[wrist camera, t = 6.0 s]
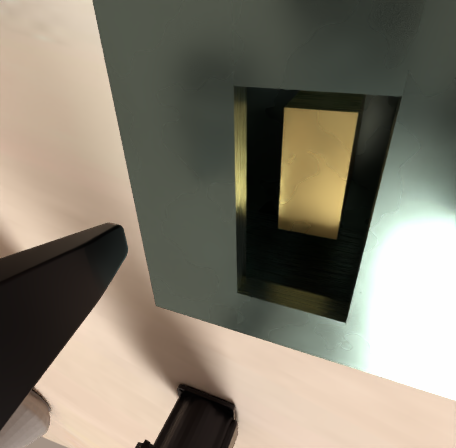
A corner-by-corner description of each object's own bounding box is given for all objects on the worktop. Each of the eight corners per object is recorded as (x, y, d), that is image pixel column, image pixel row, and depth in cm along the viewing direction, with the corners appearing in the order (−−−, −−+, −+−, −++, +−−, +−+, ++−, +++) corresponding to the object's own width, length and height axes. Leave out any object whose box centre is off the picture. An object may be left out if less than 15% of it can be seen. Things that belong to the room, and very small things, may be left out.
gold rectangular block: (303, 177, 18) (277, 228, 14) (312, 78, 16) (284, 107, 12) (350, 184, 17) (336, 239, 14) (368, 80, 15) (358, 113, 11)
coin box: (227, 212, 22) (156, 306, 16) (219, -14, 15) (89, -14, 9) (436, 253, 18) (456, 400, 12) (548, -27, 11) (740, -45, 5)
